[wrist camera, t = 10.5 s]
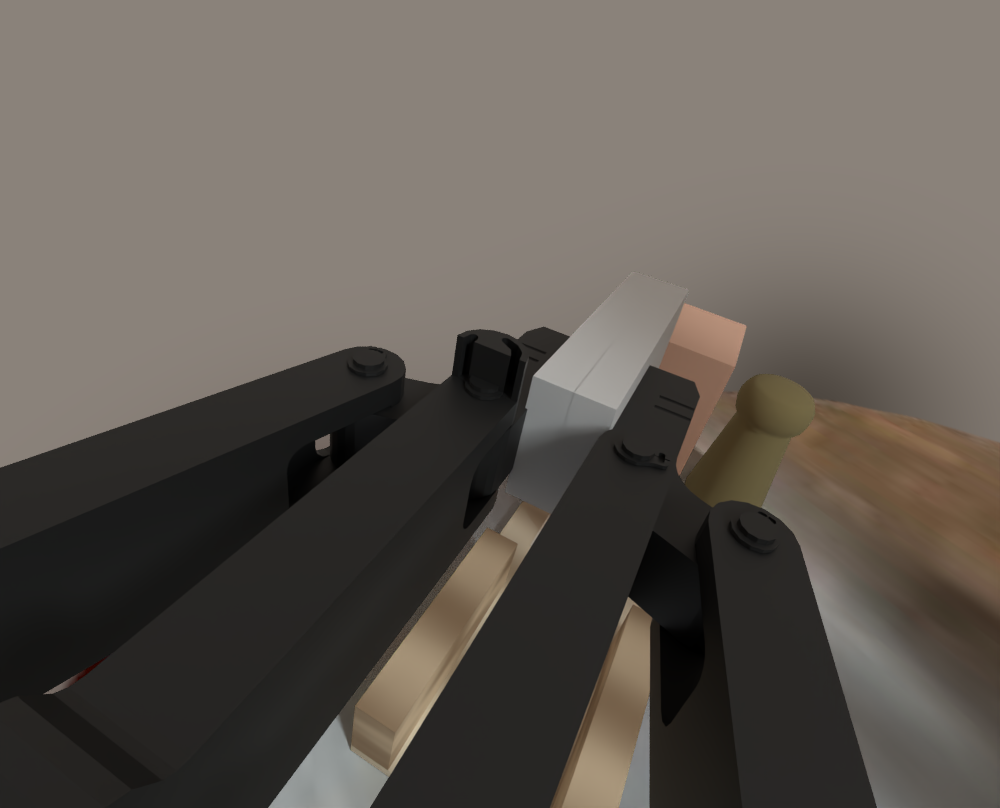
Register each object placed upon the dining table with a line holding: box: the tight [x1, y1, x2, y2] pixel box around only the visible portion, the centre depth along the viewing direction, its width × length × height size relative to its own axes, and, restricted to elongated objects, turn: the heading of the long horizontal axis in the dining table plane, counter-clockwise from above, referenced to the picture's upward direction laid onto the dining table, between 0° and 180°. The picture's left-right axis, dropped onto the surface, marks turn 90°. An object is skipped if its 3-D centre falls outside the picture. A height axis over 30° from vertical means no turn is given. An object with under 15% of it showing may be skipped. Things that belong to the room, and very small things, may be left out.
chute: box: [351, 501, 652, 808], centre depth 32 cm, size 24×11×4 cm, turn 153°
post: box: [550, 303, 746, 515], centre depth 35 cm, size 6×6×16 cm
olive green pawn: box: [685, 374, 815, 508], centre depth 43 cm, size 6×6×11 cm
